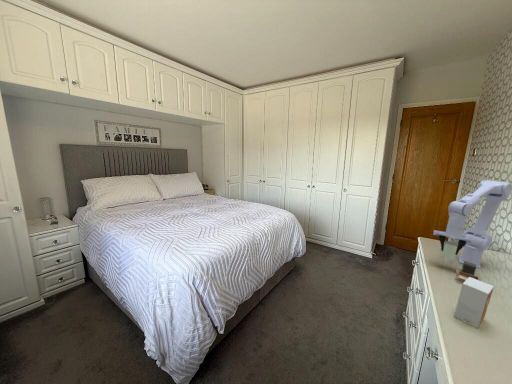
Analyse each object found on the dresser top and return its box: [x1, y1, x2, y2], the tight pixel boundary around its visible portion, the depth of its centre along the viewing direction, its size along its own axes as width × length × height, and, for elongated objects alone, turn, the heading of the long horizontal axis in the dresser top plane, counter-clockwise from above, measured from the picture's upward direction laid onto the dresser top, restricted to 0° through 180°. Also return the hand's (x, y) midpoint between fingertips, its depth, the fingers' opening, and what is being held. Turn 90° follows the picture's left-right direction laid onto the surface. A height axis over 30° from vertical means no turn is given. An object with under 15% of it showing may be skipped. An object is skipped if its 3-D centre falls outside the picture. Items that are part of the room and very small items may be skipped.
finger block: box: [441, 240, 458, 261], centre depth 105 cm, size 6×4×7 cm
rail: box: [454, 261, 481, 284], centre depth 98 cm, size 16×8×6 cm, turn 136°
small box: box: [453, 277, 495, 329], centre depth 73 cm, size 8×6×13 cm
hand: (448, 252), depth 105 cm, fingers closed on finger block, 4 cm apart
